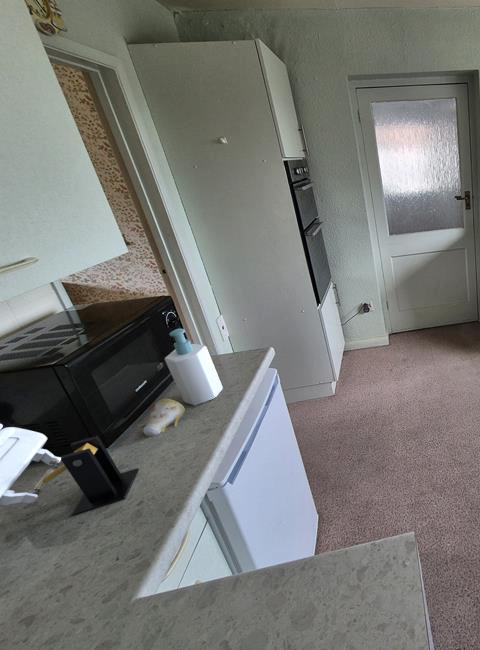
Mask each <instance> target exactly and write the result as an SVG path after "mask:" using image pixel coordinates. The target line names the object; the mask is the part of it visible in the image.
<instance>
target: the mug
mask: <svg viewBox="0 0 480 650" xmlns="http://www.w3.org/2000/svg"><path fill="white" fill-rule="evenodd" d="M185 412H186V408H185V407H184V406H183V404H181V403H180V402H178V401H176V400H173V399H171V398H170V399H169V398H160V399H159V400H158V401H156V402H155V403H154V405H153V407H152V409H151V412H150V416H149V419H148V422H146V425H145V426H144V427H143V430H142V431H143V434H144V435H145V436H147V437H155V436H157V435H160V434H165V431H166V428H167V427H169V426H171V425H172V424H173V428H175V427H177V426H178V423H179V421H180V419H181V418H182V416H183V415H184V413H185Z"/></svg>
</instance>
